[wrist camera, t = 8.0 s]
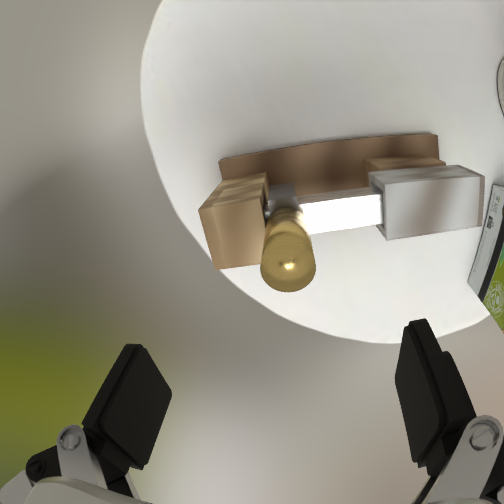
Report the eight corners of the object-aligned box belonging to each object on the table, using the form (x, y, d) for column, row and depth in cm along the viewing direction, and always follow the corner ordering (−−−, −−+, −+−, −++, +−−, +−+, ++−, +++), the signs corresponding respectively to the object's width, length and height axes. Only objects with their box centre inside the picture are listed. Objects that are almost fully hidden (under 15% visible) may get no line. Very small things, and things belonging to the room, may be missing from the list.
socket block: (266, 172, 28) (259, 199, 20) (275, 218, 31) (272, 262, 22) (222, 180, 29) (198, 210, 21) (233, 225, 31) (215, 269, 23)
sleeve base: (431, 133, 26) (487, 148, 16) (433, 209, 29) (481, 249, 20) (221, 159, 30) (192, 182, 20) (239, 236, 34) (222, 289, 24)
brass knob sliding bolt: (399, 169, 22) (462, 207, 13) (401, 216, 24) (455, 274, 15) (235, 191, 25) (206, 243, 16) (246, 238, 27) (226, 309, 17)
